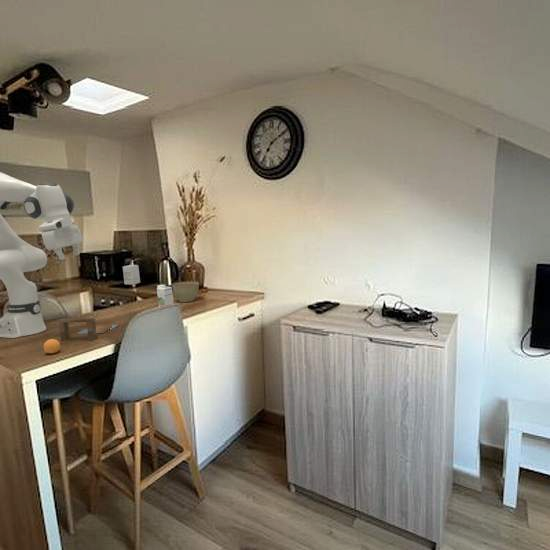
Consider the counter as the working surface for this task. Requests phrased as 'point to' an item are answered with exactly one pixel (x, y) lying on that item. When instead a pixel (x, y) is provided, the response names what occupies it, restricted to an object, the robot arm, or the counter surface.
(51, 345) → the ball
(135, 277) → the supplement box
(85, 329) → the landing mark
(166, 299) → the syrup box
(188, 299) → the planter bowl
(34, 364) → the counter surface
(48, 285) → the counter surface
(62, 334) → the bridge
